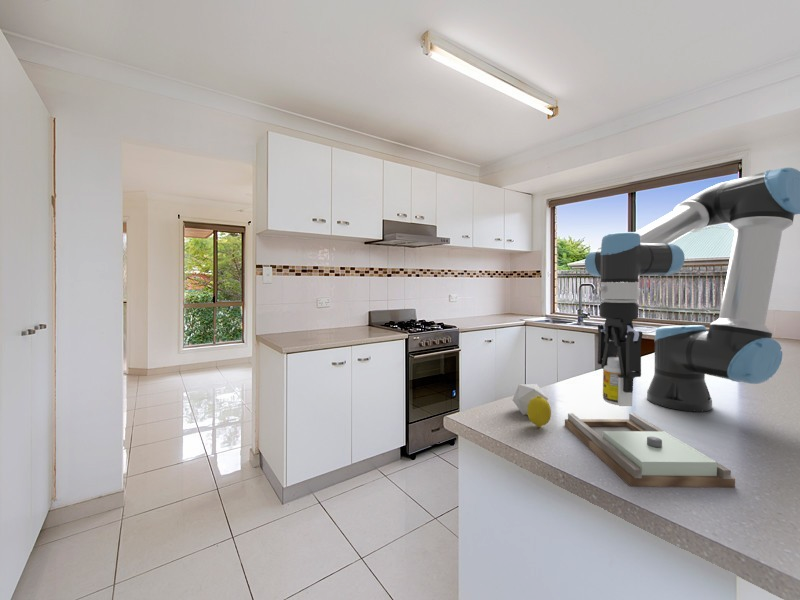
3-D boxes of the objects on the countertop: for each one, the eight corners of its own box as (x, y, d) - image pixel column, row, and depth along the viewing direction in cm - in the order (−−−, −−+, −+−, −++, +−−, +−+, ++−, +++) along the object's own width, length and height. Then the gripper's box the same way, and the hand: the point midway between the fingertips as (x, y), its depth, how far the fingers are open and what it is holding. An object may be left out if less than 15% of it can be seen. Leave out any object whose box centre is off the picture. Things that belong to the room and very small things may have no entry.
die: (543, 423, 92) (557, 391, 95) (513, 406, 93) (528, 374, 96) (531, 423, 100) (545, 392, 102) (504, 406, 101) (518, 377, 104)
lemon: (533, 421, 92) (533, 391, 92) (554, 427, 88) (554, 395, 88) (523, 427, 88) (523, 396, 88) (545, 434, 84) (545, 401, 84)
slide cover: (664, 442, 75) (664, 425, 75) (716, 475, 62) (717, 455, 62) (602, 442, 76) (602, 425, 76) (641, 475, 63) (642, 455, 63)
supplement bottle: (605, 396, 85) (606, 355, 85) (632, 401, 82) (633, 358, 81) (600, 402, 81) (601, 359, 81) (629, 408, 78) (630, 362, 77)
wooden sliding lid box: (637, 425, 88) (637, 413, 88) (735, 487, 62) (735, 470, 61) (564, 424, 89) (564, 413, 89) (629, 486, 62) (630, 469, 62)
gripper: (582, 299, 90) (581, 388, 91) (626, 303, 71) (624, 415, 72) (612, 299, 90) (610, 389, 91) (664, 303, 71) (661, 416, 72)
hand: (616, 400), depth 81 cm, fingers closed on supplement bottle, 6 cm apart
